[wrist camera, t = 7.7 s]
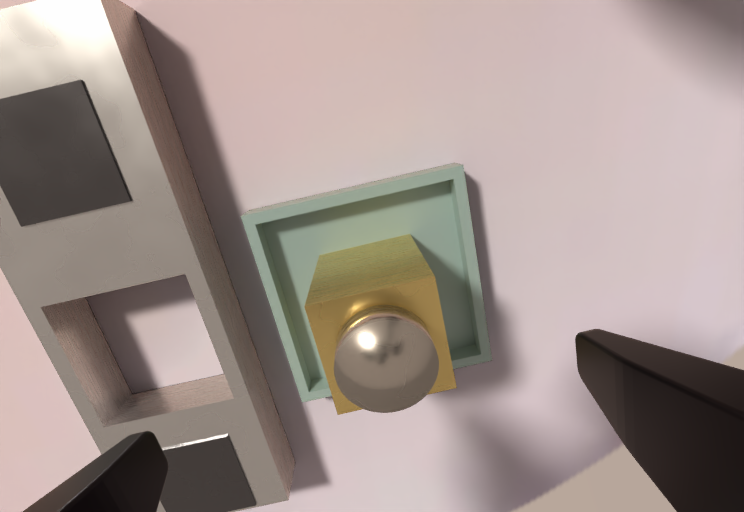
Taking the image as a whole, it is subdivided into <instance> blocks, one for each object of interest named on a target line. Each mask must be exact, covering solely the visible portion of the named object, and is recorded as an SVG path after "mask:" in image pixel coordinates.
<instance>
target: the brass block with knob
mask: <svg viewBox="0 0 744 512" xmlns="http://www.w3.org/2000/svg"><path fill="white" fill-rule="evenodd" d="M304 307H305V311H306V314H307V317H308V320H309V323H310V327H311V330H312V333H313V336H314V340H315V343H316V346H317V349H318V352H319V356H320V359H321V362H322V365H323V368H324V372H325V375H326V378H327V381H328V385H329V388H330V391H331V394H332V397H333V401H334V404H335V407H336V410H337V413H338V415H339V414H343V413H348V412H352V411H357V410H361V409H365V410H369V411H373V412H381V413H388V412H396V411H400V410H404V409H406V408H409V407H411V406H413V405H414V404H416V403H418V402H419V401H420V400H422V399H423V398H424V397H425V396H426V395H427V394H432V393H436V392H441V391H445V390H450V389H454V388H457V387H456V382H455V377H454V371H453V366H452V361H451V356H450V351H449V346H448V341H447V335H446V330H445V325H444V320H443V315H442V310H441V305H440V299H439V294H438V289H437V284H436V279H435V275H434V274H433V272H432V270H431V269H430V267H429V265H428V264H427V262H426V260H425V258H424V257H423V255H422V253H421V252H420V250H419V248H418V247H417V245H416V243H415V242H414V240H413V238H412V237H411V235H410V234H407V235H402V236H398V237H394V238H390V239H385V240H381V241H377V242H373V243H369V244H364V245H360V246H356V247H352V248H347V249H343V250H339V251H335V252H330V253H326V254H322V255H319V258H318V261H317V265H316V268H315V272H314V275H313V278H312V282H311V285H310V289H309V292H308V296H307V299H306V302H305V306H304Z"/></svg>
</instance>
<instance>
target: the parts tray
mask: <svg viewBox="0 0 744 512" xmlns="http://www.w3.org/2000/svg"><path fill="white" fill-rule="evenodd" d="M241 219H242V222H243V225H244V228H245V231H246V234H247V237H248V240H249V243H250V246H251V249H252V252H253V255H254V258H255V261H256V264H257V267H258V270H259V273H260V276H261V279H262V282H263V285H264V289H265V292H266V295H267V298H268V301H269V304H270V307H271V310H272V313H273V316H274V319H275V322H276V325H277V328H278V331H279V334H280V337H281V340H282V343H283V346H284V349H285V352H286V355H287V358H288V361H289V364H290V367H291V370H292V373H293V376H294V379H295V382H296V385H297V389H298V392H299V395H300V398H301V401H302V402H307V401H311V400H316V399H320V398H325V397H329V396H332V394H331V391H330V388H329V385H328V381H327V378H326V375H325V372H324V368H323V365H322V362H321V359H320V356H319V352H318V349H317V346H316V343H315V340H314V336H313V333H312V330H311V327H310V323H309V320H308V317H307V314H306V311H305V307H304V306H305V302H306V299H307V296H308V292H309V289H310V285H311V282H312V278H313V275H314V272H315V268H316V265H317V261H318V258H319V255H322V254H326V253H330V252H335V251H339V250H343V249H347V248H352V247H356V246H360V245H364V244H369V243H373V242H377V241H381V240H385V239H390V238H394V237H398V236H402V235H407V234H410V235H411V237H412V238H413V240H414V242H415V243H416V245H417V247H418V248H419V250H420V252H421V253H422V255H423V257H424V258H425V260H426V262H427V264H428V265H429V267H430V269H431V270H432V272H433V274H434V275H435V279H436V284H437V289H438V294H439V299H440V305H441V310H442V315H443V320H444V325H445V330H446V335H447V341H448V346H449V351H450V356H451V361H452V366H453V369H457V368H461V367H466V366H470V365H475V364H479V363H484V362H489V361H492V356H491V349H490V342H489V336H488V329H487V322H486V315H485V309H484V302H483V295H482V288H481V282H480V275H479V268H478V261H477V255H476V248H475V241H474V234H473V228H472V221H471V214H470V207H469V201H468V194H467V187H466V180H465V174H464V167H463V165H461V164H457V163H452V164H448V165H443V166H439V167H435V168H430V169H426V170H422V171H417V172H413V173H409V174H404V175H400V176H396V177H391V178H387V179H383V180H378V181H374V182H370V183H365V184H361V185H357V186H352V187H348V188H344V189H339V190H335V191H331V192H326V193H322V194H318V195H313V196H309V197H305V198H300V199H296V200H292V201H287V202H283V203H279V204H274V205H270V206H266V207H261V208H257V209H253V210H249V211H248V212H246V213H245V214H243V215H242V216H241Z"/></svg>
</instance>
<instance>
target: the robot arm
mask: <svg viewBox="0 0 744 512" xmlns="http://www.w3.org/2000/svg"><path fill="white" fill-rule="evenodd" d="M575 342H576V354H577V367H578V371H579V374H580V377H581V379H582V380H583V382H584V384H585V385H586V387H587V388H588V390H589V391H590V393H591V394H592V396H593V397H594V399H595V401H596V402H597V404H598V405H599V407H600V408H601V410H602V411H603V413H604V415H605V416H606V418H607V419H608V421H609V422H610V424H611V425H612V427H613V428H614V430H615V432H616V433H617V435H618V436H619V438H620V439H621V441H622V442H623V443H624V445H625V446H626V448H627V449H628V450H629V452H630V453H631V454H632V456H633V457H634V458H635V460H636V461H637V462H638V463H639V465H640V466H641V467H642V468H643V469H644V471H645V472H646V473H647V475H648V476H649V477H650V478H651V480H652V481H653V482H654V483H655V485H656V486H657V487H658V488H659V490H660V491H661V492H662V493H663V495H664V496H665V497H666V498H667V500H668V501H669V502H670V503H671V505H672V506H673V507H674V509H675V510H676V511H677V512H744V370H741V369H737V368H734V367H730V366H727V365H724V364H720V363H716V362H713V361H709V360H706V359H702V358H699V357H695V356H692V355H688V354H685V353H681V352H678V351H674V350H671V349H667V348H664V347H660V346H657V345H653V344H650V343H646V342H642V341H639V340H635V339H632V338H628V337H625V336H621V335H618V334H614V333H611V332H607V331H604V330H600V329H593V330H588V331H584V332H580V333H578V334H577V335H576V339H575ZM167 474H168V460H167V458H166V456H165V454H164V452H163V450H162V448H161V446H160V444H159V442H158V440H157V438H156V436H155V434H154V433H152V432H151V431H144V432H140V433H135V434H131V435H129V436H127V437H126V438H124V439H123V440H122V441H120V442H119V443H117V444H116V445H115V446H113V447H112V448H110V449H109V450H108V451H106V452H105V453H103V454H102V455H101V456H99V457H98V458H96V459H95V460H94V461H92V462H91V463H90V464H88V465H87V466H85V467H84V468H83V469H81V470H80V471H78V472H77V473H76V474H74V475H73V476H71V477H70V478H69V479H67V480H66V481H65V482H63V483H62V484H60V485H59V486H58V487H56V488H55V489H53V490H52V491H51V492H49V493H48V494H46V495H45V496H44V497H42V498H41V499H39V500H38V501H37V502H35V503H34V504H33V505H31V506H30V507H28V508H27V509H26V510H24V511H23V512H157V508H158V505H159V501H160V498H161V495H162V491H163V488H164V484H165V481H166V477H167Z"/></svg>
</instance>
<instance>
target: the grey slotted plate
mask: <svg viewBox="0 0 744 512" xmlns="http://www.w3.org/2000/svg"><path fill="white" fill-rule="evenodd" d="M0 268H1V269H2V271H3V273H4V275H5V277H6V279H7V280H8V282H9V284H10V286H11V288H12V290H13V292H14V293H15V295H16V297H17V299H18V301H19V303H20V304H21V306H22V308H23V310H24V312H25V314H26V316H27V317H28V319H29V321H30V323H31V325H32V327H33V328H34V330H35V332H36V334H37V336H38V338H39V340H40V341H41V343H42V345H43V347H44V349H45V351H46V352H47V354H48V356H49V358H50V360H51V362H52V364H53V365H54V367H55V369H56V371H57V373H58V375H59V376H60V378H61V380H62V382H63V384H64V386H65V387H66V389H67V391H68V393H69V395H70V397H71V399H72V400H73V402H74V404H75V406H76V408H77V410H78V411H79V413H80V415H81V417H82V419H83V421H84V423H85V424H86V426H87V428H88V430H89V432H90V434H91V435H92V437H93V439H94V441H95V443H96V445H97V447H98V448H99V450H100V452H101V454H103V453H105V452H106V451H108V450H109V449H110V448H112V447H113V446H115V445H116V444H117V443H119V442H120V441H122V440H123V439H124V438H126V437H127V436H129V435H131V434H135V433H140V432H144V431H151V432H152V433H154V434H155V436H156V438H157V440H158V442H159V444H160V446H161V448H162V450H163V452H164V454H165V456H166V458H167V460H168V474H167V477H166V481H165V484H164V488H163V491H162V495H161V498H160V501H159V505H158V508H157V512H235V511H240V510H245V509H249V508H254V507H259V506H263V505H268V504H273V503H277V502H282V501H287V500H289V495H290V489H291V484H292V478H293V473H294V467H295V460H294V457H293V454H292V451H291V449H290V446H289V443H288V440H287V437H286V435H285V432H284V429H283V426H282V423H281V421H280V418H279V415H278V412H277V409H276V407H275V404H274V401H273V398H272V395H271V393H270V390H269V387H268V384H267V381H266V378H265V376H264V373H263V370H262V367H261V364H260V362H259V359H258V356H257V353H256V350H255V348H254V345H253V342H252V339H251V336H250V334H249V331H248V328H247V325H246V322H245V319H244V317H243V314H242V311H241V308H240V305H239V303H238V300H237V297H236V294H235V291H234V289H233V286H232V283H231V280H230V277H229V275H228V272H227V269H226V266H225V263H224V260H223V258H222V255H221V252H220V249H219V246H218V244H217V241H216V238H215V235H214V232H213V230H212V227H211V224H210V221H209V218H208V216H207V213H206V210H205V207H204V204H203V201H202V199H201V196H200V193H199V190H198V187H197V185H196V182H195V179H194V176H193V173H192V171H191V168H190V165H189V162H188V159H187V157H186V154H185V151H184V148H183V145H182V142H181V140H180V137H179V134H178V131H177V128H176V126H175V123H174V120H173V117H172V114H171V112H170V109H169V106H168V103H167V100H166V98H165V95H164V92H163V89H162V86H161V84H160V81H159V78H158V75H157V72H156V69H155V67H154V64H153V61H152V58H151V55H150V53H149V50H148V47H147V44H146V41H145V39H144V36H143V33H142V30H141V27H140V25H139V22H138V19H137V16H136V13H135V10H134V9H133V8H131V7H129V6H128V5H126V4H124V3H123V2H121V1H119V0H37V1H33V2H29V3H25V4H21V5H17V6H12V7H8V8H4V9H0ZM184 274H185V275H186V277H187V280H188V283H189V285H190V288H191V290H192V293H193V295H194V298H195V300H196V303H197V305H198V308H199V311H200V313H201V316H202V318H203V321H204V323H205V326H206V328H207V331H208V334H209V336H210V339H211V341H212V344H213V346H214V349H215V351H216V354H217V357H218V359H219V362H220V364H221V367H222V369H223V372H224V374H222V375H217V376H213V377H208V378H204V379H199V380H195V381H190V382H186V383H181V384H177V385H172V386H168V387H163V388H159V389H154V390H150V391H145V392H141V393H136V394H132V393H131V391H130V389H129V387H128V385H127V383H126V381H125V379H124V377H123V375H122V373H121V371H120V369H119V366H118V364H117V362H116V360H115V358H114V356H113V354H112V352H111V350H110V348H109V346H108V344H107V342H106V340H105V338H104V335H103V333H102V331H101V329H100V327H99V325H98V323H97V321H96V319H95V317H94V315H93V313H92V311H91V309H90V307H89V304H88V302H87V300H86V298H85V297H87V296H92V295H96V294H100V293H105V292H109V291H114V290H118V289H122V288H127V287H131V286H136V285H140V284H144V283H149V282H153V281H157V280H162V279H166V278H171V277H175V276H179V275H184Z"/></svg>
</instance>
